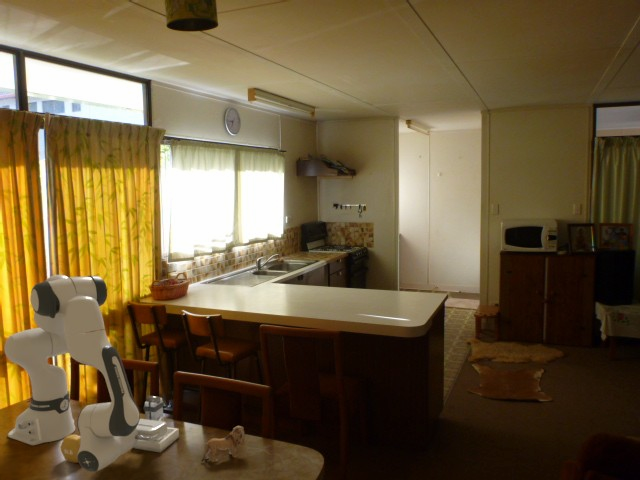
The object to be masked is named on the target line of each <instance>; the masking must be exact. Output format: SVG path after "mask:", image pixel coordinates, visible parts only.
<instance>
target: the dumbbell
mask: <svg viewBox="0 0 640 480" xmlns="http://www.w3.org/2000/svg"><path fill="white" fill-rule="evenodd" d="M80 444H81V438H80V434H79V435H78V434H73V433H72V434H70V435H68V436H66V437H64V438H63V440H62V442H61V445H60V451H61V453H62V456H63V458H64V460H65V461H67V462H68V463H73V464H75V463H79V462H78V459H77V454H78V451H79V448H80Z"/></svg>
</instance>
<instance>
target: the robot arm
mask: <svg viewBox="0 0 640 480" xmlns="http://www.w3.org/2000/svg"><path fill="white" fill-rule="evenodd" d="M107 287H108V286H107V284H106V281H105V280H104V279H103V278H102V277H101V276H98V275H87V276H71V277H69V276H67V275H64V274H54V275H51V276H49V277H47V278H46V279H45V281H42V282H39V283H36V284H35V285H34V286H33V287H32V288H31V293H30V299H29V300H30V303H31V304H30V305H31V307H32V309H33V312H34V315H33V320H34V323H35V324H36V325H37V326H38V327H36V328H30V329H25V330H22V331H19V332H16V333H13V334H11V335H9V336H8V338H7V339H6V340H5V342H4V343H5V344H4V349H3V350H4V354H5V356H6V359H8V361H10V362H12V364H16V365H18V366H20V367H21V368H23V370H25V371H26V373H27V374H28V375H27V376H29V379H30V384H31V391H32V392H31V393H32V396H31V397H30V398H27V399H26V401H27V402H26V403H29V406H28V407H27V409H25V410H24V411H23V412H21V413H20V414H19V415H18V416H17V417H16V420H15V423H14V424H15V426H14V428H13V429H12V430H10V431H9V432H8V434H7V436H8V437H7V438H10V439H13V440H15V441H16V440H17V441H19V442H22V443H24V444H26V445H27V444H28V445H30V446H36V445H40V444H44V443H48V442H49V443H51V442H54V441H58V440H61V439H64V438H65V437H67V436H69V435H73V433H74V432H75V430H76V427H77V431H78V433H79V436H80V438H81V444H80V448H79V451H78V454H77V459H78V462H77V463H78V464H79V465H80V466H81V468H82V469H83V470H86V471H87V472H99V471H101V470H102V469H104V468H106V467H108V466H110V465H111V464H113V463H114V462H115V461H116V460H117V459H118V458H119V457H120V456H122V455H124V454H126V453H127V452H128V451H130V450H131V449H133V448H132V447H133V446H135V445H136V444H137V442H138V440H142V441H154V440H157V439H158V438H160V437H162V436H163V435H165V434H166V433H167V427H168V426H167V422H166V421H165V417H164V416H163V417H158V418H157V420H158V421H156V420H148V419H146V418H141V413H140V408H139V406H138V404H137V403H136V401H135V398H134V396H133V393H132V390H131V386H130V384H129V381H128V377H127V373H126V370H125V367H124V364H123V360H122V359H121V355H120V353H119V351H118V349H117V348H115V347H114V346H112V344H111V342H110V340H109V339H108V336H107V333H106V328H105V323H104V318H103V313H102V310H101V308H100V307H101V306H103V305H104V304H105V302H106V301H107V298H108V288H107ZM65 354H69V356H70V357H71V358H72V359H73V360H74V361H75V362H78V363H80V364H83V365H87V366H89V367H93V368H95V369H96V370H98V371H99V372H101V374H102V376H103V377H104V379H105V383H106V387H107V389H108V393H109V397H110V400H111V401H109V402H108V401H107V402H100V403H94V404H88V405H85V406H84V407H83V408H82V410H81V411H79V412H80V413H79V414H78V417H77V420H76V425H75V419H74V418H73V414H72V409H71V403H70V401H71V399H70V397H71V395H70V392H69V390H68V378H67V372H66V371H65V369H64V368H63V367H61V366H57V365H54V364H50V363H48V362H49V361H48V359H49V358H52V357H56V356H61V355H65Z"/></svg>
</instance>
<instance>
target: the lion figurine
mask: <svg viewBox="0 0 640 480" xmlns="http://www.w3.org/2000/svg"><path fill="white" fill-rule="evenodd" d="M244 437H245V430H244V427H243V426H241V425H237V426H235V427H233V428H232V431H231V432H230V433H229V434H228V435H227V436H225V437H223V438H216V437H215V438H211V439H209V440H208V441H207V442H206V445H205V447H204V453H203V458H201V460H200V462H201V463H202V462H204V461H205V460H208V459H209V458H210V457H209V456H208V454H209V453H210V452H211V459H212V460H213V461H214V462H215V463H218V462H219V459H218V458H216V454H217V450H221V451H226V450H228V453H229V455H232V457H233V458H234V459H236V458H238V455H237V454H236V450H237V447H240V445H241V444H242V441H244Z"/></svg>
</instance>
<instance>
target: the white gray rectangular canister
mask: <svg viewBox="0 0 640 480" xmlns="http://www.w3.org/2000/svg"><path fill="white" fill-rule="evenodd" d="M163 407H165V402H164V401H163V398H162V397H160V396H154V395H147V397H146V401H144V406H143V411H144V412H145V413H144V415H145V419H148V420H156V421H158V420H157V418H158V417H164V409H163ZM163 438H164V435H163V436H162V437H160V438H158V439H157V440H154V441H157V442H159V441H160V440H162V439H163Z"/></svg>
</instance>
